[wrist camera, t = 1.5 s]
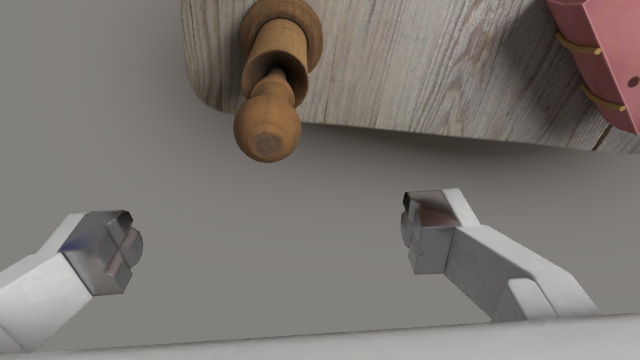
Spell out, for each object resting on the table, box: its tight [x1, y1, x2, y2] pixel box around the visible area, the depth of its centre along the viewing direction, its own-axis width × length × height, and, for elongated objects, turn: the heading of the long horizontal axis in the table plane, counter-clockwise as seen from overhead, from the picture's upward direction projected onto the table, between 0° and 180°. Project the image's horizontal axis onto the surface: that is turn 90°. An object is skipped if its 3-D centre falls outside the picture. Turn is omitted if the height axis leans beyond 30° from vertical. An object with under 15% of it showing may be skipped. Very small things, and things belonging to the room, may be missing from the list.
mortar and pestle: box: [234, 0, 323, 163], centre depth 22 cm, size 7×6×18 cm
